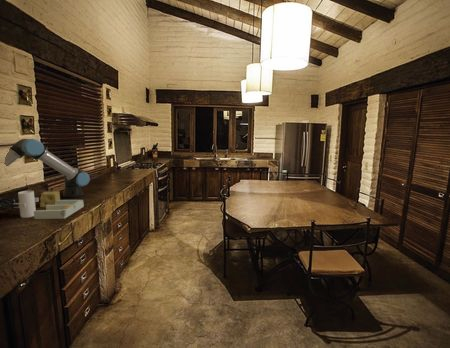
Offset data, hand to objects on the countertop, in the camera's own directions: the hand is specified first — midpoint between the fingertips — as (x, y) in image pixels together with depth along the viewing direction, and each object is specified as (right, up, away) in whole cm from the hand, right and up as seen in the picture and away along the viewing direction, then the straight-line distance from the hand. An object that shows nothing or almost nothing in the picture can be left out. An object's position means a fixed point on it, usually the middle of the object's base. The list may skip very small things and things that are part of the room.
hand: (32, 202), depth 169 cm
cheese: (-5, -5, +26) cm, 27 cm away
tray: (+14, -8, +9) cm, 18 cm away
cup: (-3, -9, +1) cm, 10 cm away
